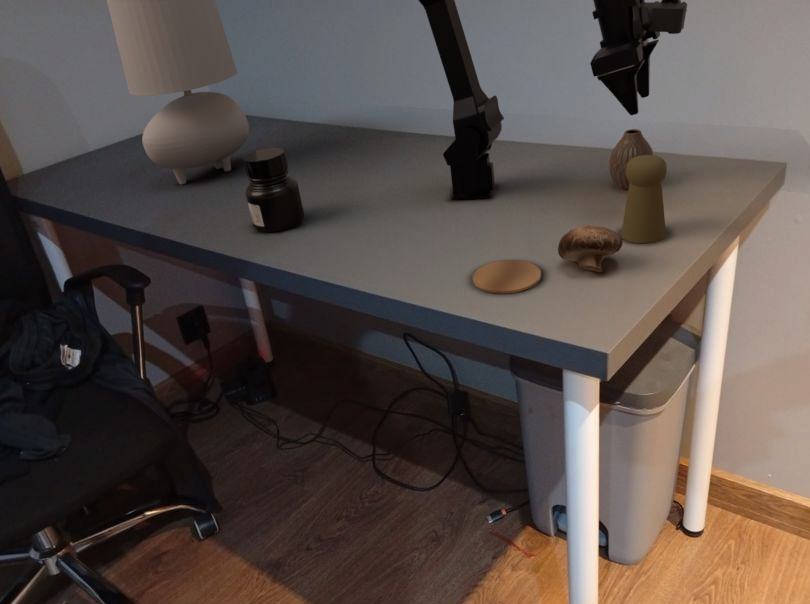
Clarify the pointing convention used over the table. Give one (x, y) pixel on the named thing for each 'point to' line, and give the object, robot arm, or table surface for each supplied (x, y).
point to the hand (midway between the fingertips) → (640, 105)
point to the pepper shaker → (644, 200)
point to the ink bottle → (272, 191)
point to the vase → (627, 155)
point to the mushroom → (589, 246)
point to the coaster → (507, 276)
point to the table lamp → (181, 80)
